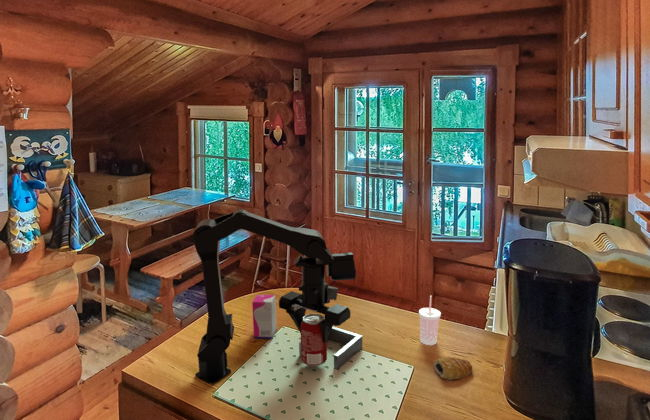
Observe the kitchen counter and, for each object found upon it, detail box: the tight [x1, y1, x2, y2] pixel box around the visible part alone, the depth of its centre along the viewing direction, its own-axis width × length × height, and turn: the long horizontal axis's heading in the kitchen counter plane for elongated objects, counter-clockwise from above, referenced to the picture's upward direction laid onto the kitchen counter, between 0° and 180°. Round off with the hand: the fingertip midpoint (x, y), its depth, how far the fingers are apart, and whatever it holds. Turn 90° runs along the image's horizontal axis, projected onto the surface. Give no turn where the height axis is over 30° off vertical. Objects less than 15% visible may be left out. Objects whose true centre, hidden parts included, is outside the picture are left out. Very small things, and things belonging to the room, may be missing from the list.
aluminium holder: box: [298, 326, 363, 371], centre depth 121 cm, size 13×12×4 cm
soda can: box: [300, 313, 328, 367], centre depth 113 cm, size 7×7×12 cm
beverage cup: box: [418, 295, 442, 346], centre depth 125 cm, size 6×6×14 cm
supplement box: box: [252, 294, 278, 340], centre depth 130 cm, size 6×6×12 cm
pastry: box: [433, 356, 474, 381], centre depth 111 cm, size 9×7×4 cm
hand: (313, 338), depth 113 cm, fingers closed on soda can, 7 cm apart
